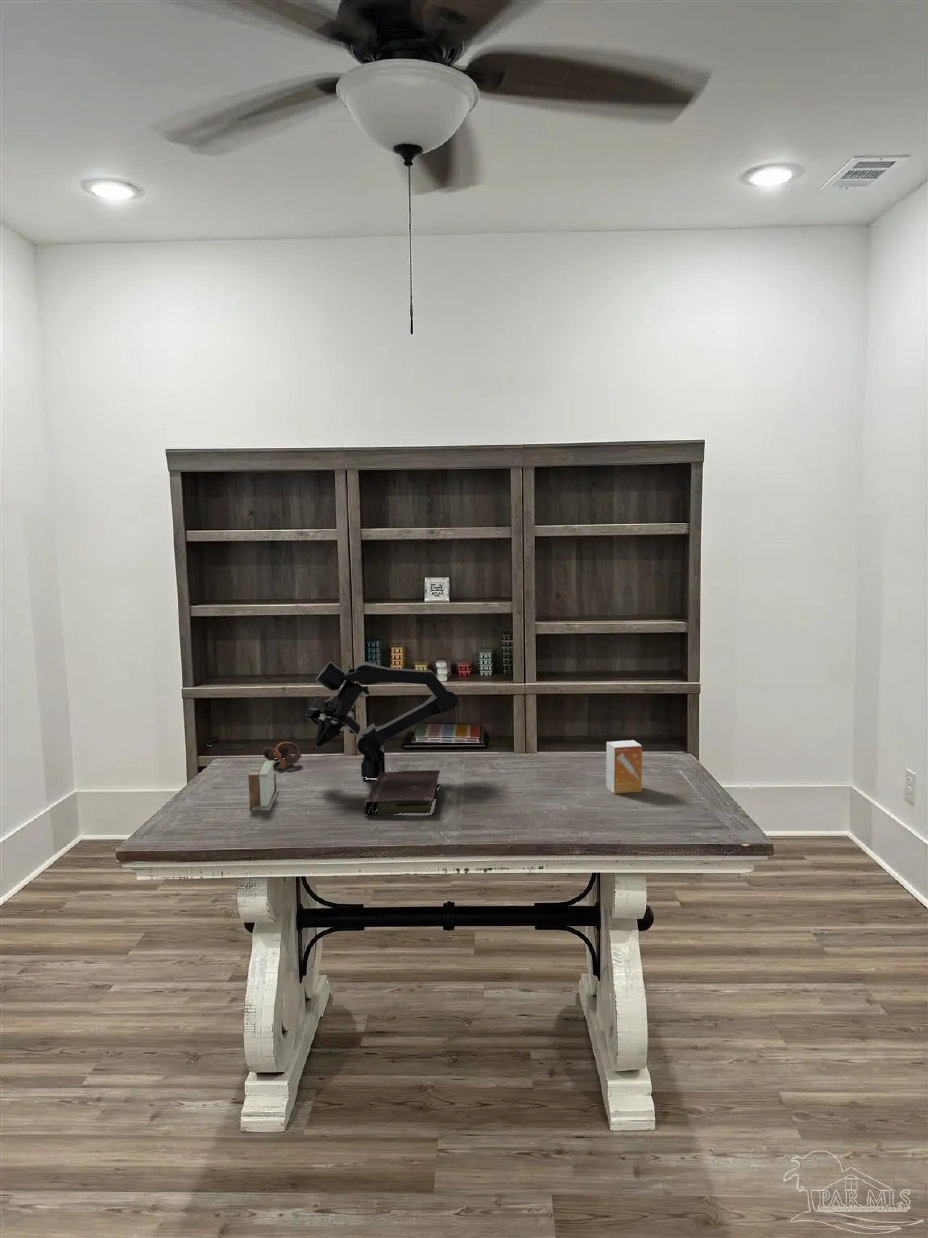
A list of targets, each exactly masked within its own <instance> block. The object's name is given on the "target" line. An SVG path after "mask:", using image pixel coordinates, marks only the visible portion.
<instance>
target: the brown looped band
mask: <svg viewBox="0 0 928 1238" xmlns="http://www.w3.org/2000/svg"><path fill="white" fill-rule="evenodd" d="M292 748H294V749H295V750H296V753H295V754H294V755H292V754H290V753H288V752H289V750H290V749H292ZM262 755H263V757H264V758H265V759H266V760H267V761H273V762H274V761H278V760H279V761H278V762H279V765H278V768H279V769H280V770H282V769H283V770H285V768H286V767H289V766H292V765H294V764H296V763H298V761H299V760H300V759H301V758H302V753H301V749H300V747H299V745H298V744H296V743H294V742H291V741H283V742H279V743H278V744H277V745H276V747H273V746H265V747H264V748H263V750H262ZM274 758H277V759H274ZM283 758H285V759H283Z"/></svg>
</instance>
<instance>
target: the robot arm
mask: <svg viewBox="0 0 928 1238" xmlns="http://www.w3.org/2000/svg"><path fill="white" fill-rule="evenodd" d="M315 681H316V682H317V683H318V684H320V685H321V686H323V687H324V688H326V689H327V690H329V691H330V692H334V691H336V692H337V691H338V690H339V689H340V690H339V691H338V692H337V695H330V696H329V697H325V696H321V695H315V696H314V699H313V703H312V707H310V708H307V710H306V711H305V712H304V716H305V717H306V718H307V719H309V720H310V722H311V723H313V724H314V725H316V726H317V728H318V729H317V734H316V738H315V741H314V746H315V747H316V748H320V747H322V746H323V745H325V744H326V743H328V742H330V741H331V740H332V739H334V738H336V737H338V736H340V735H343V734H344V732H343V731H344V728H348V730H349V734H350V735H354V736H357V737H356V747H357V751H358V752H359V753H360V754H362V755H363V757H362V760H361V763H360V769H361V770H360V771H361V778H362V781H363V780H365V779H366V778H365V777H367V778H377V777H378V775H379V773H380V772H386V755H385V754H386V753H385V750H384V744H386V742H388V741H389V740H390V739H391V738H393V737H395V736H397V735H399V734H400V733H402V732H404V731H406V730H408V729H410V728H412V727H414V726H416V725H417V724H418V723H421V722H423V721H425V720H426V719H428V718H429V717H432V716H436V715H442V714H445V713H447V712H450V711H453V710H455V709H456V707H457V705H458V697H457V695H456V693H455V692H454V690H452V689H451V688H450V687H445V685H444V684H443V682H441V681H440V680H439V679H438V677H437V676H436V675H435V672H433V671H432V670H431V669H415V668H414V669H412V668H411V669H410V668H397V667H386V666H382V665H379V664H376V663H372V662H369V661H368V662H367V661H360V662H359V663H357V664H356V665H355V667H352V668H349V669H346V670H342V669H341V668H339V667H338V666H336V665H335V663H333V662H332V661H329V662H328V663H327V665H325V667H324V668H322V669H321V670H320V672H319V674H318V675H317V676H316V679H315ZM380 683H401V684H402V683H403V684H417V685H418V684H419V685H426V687H427V688H428V689H429V690H430V691H431V693H432V695H431V696H430V697H429V698H428V699H426V701H424V703H422V704H419V705H418V706H416V707H415V708H413V709H410V710H409V711H407V712H406V713H403V714H401V715H399V716H398V717H396V718H394V719H392V720H391V721H389V722H387V723H385V724H383V725H379V726H375V724H374V723H372V724H370V725H369V726H368V727H365V728H361V725H360V723H358V722H357V721H356V719H354V717H353V716H349V714H350V713H352V714H353V713H354V712H355V711H356V710H355V709H354V706H355V705H356V704H357V701H358V700H359V698H360V697H361V696H363V697H368V696H369V695H370V691H369V687H368V685H374V684H380ZM363 685H365V686H363ZM318 708H320V709H321V710H320V709H318ZM363 777H364V778H363Z"/></svg>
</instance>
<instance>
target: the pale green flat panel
mask: <svg viewBox="0 0 928 1238" xmlns="http://www.w3.org/2000/svg"><path fill="white" fill-rule="evenodd" d="M274 764H275V762H274V760H273V761H269V760H265V762H264V764H263V766H262V768H261V770H260V771H259V778H260V798H261V806H268V805H269V802H270V800H271V797H272V795H273V793H274V773H275V772H274V771H275V770H274Z"/></svg>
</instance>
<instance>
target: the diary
mask: <svg viewBox="0 0 928 1238" xmlns="http://www.w3.org/2000/svg"><path fill="white" fill-rule="evenodd" d="M440 772H441V770H433V769H432V770H403V771H402V770H400V771H399V770H398V771H388V772H387V771H385V772H380V773H379V775H378V777H377V780H375V781H374V783H373V785H372V787H371V789H370V792H369V794H368V796H367V798H366V799H365V801H364V804H363V812H364V816H365V815H367V814H368V811H369V809H370V807H371V809H370V811H371V812H372V815H373V814H375V811H376V809H377V812H376V814H377V815H378V814H399V813H402V814H403V813H427V812H428V813H429V812H430V810H431V806H432V802H433V801H434V799H437V801H440V799H439V798H440V797H439V791H437V788H438V787H439V786H440V787H441V784H439V783H438V781H439V776H440V774H441V773H440ZM370 811H369V812H370ZM376 814H375V815H376ZM432 814H433V813H432ZM368 815H369V814H368ZM433 815H434V814H433Z"/></svg>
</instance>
